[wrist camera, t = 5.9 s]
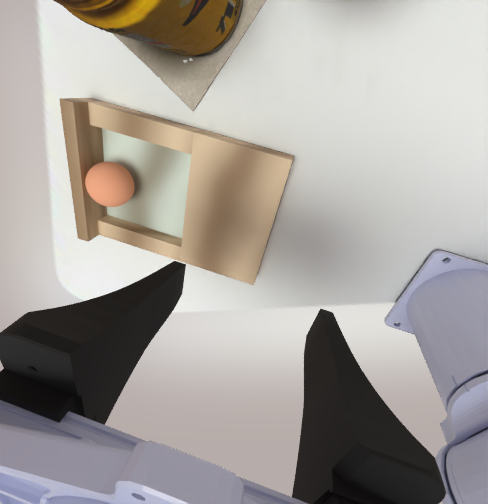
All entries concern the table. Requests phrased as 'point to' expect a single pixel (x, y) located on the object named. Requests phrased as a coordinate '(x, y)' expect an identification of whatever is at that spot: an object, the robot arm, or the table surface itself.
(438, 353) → the robot arm
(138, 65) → the table surface
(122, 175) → the ball
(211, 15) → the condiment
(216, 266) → the board
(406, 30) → the table surface
